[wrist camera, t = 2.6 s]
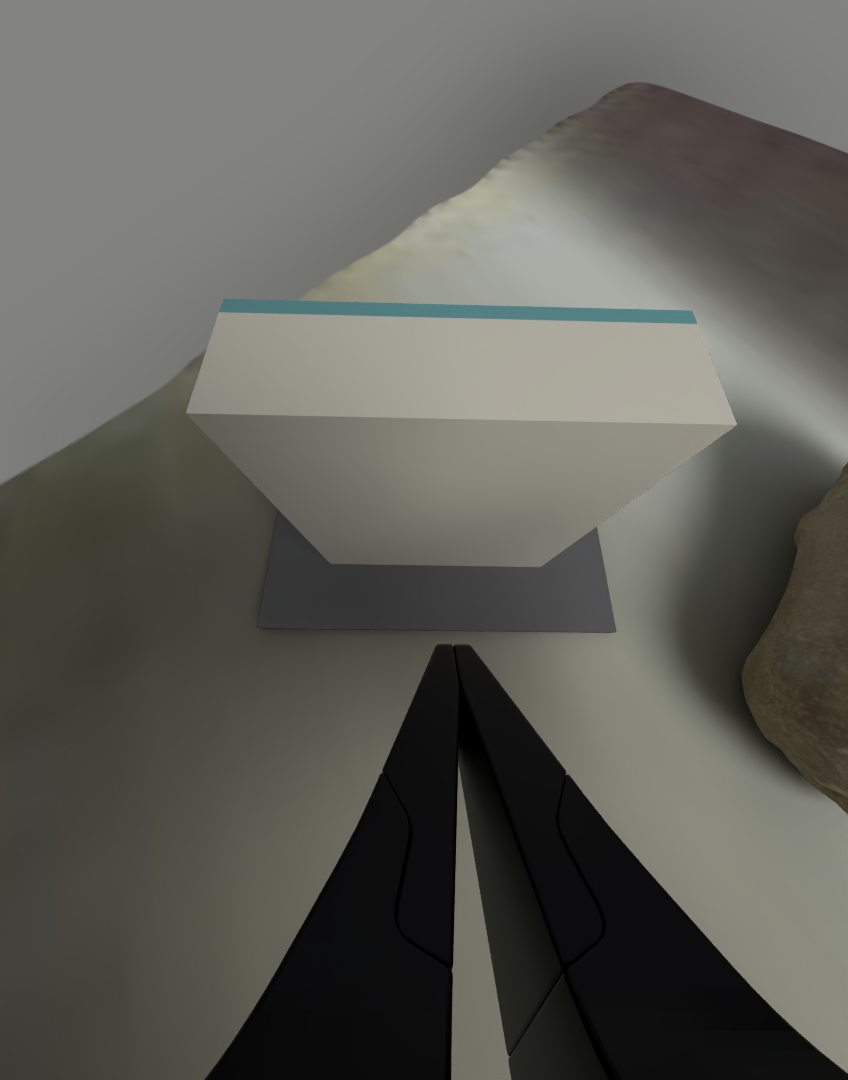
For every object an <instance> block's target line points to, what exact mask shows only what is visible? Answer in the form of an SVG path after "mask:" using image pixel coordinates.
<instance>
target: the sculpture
mask: <svg viewBox="0 0 848 1080" xmlns="http://www.w3.org/2000/svg"><path fill="white" fill-rule="evenodd" d="M794 542H795V545H796V548H797V554H796V558H795V562H794V566H793V570H792V573H791V577H790V579H789V582H788V585H787V588H786V590H785V593H784V595H783V597H782V600H781V602H780V604H779V606H778V608H777V610H776V612H775V614H774V616H773V618H772V620H771V622H770V624H769V625H768V627H767V629H766V630H765V632H764V633H763V635H762V637H761V638H760V640H759V641H758V643H757V644H756V645H755V647H754V648H753V650H752V651H751V653H750V654H749V656H748V657H747V659H746V661H745V664H744V667H743V671H742V683H743V690H744V695H745V700H746V703H747V705H748V707H749V709H750V711H751V713H752V715H753V717H754V719H755V721H756V723H757V725H758V727H759V729H760V730H761V732H762V733H763V735H764V737H765V738H766V739H767V740H769V741H770V742H771V743H773V744H774V745H776V746H777V747H778V748H780V749H781V750H782V751H783V753H784V754H785V756H786V757H787V758H788V760H789V761H790V763H792V764H793V765H795V766H796V767H797V768H798V770H799V771H800V772H801V774H802V775H803V776H804V777H805V779H807V780H808V781H809V782H810V783H811V784H812V785H813V786H814V787H815V788H816V789H818V790H819V791H821V792H822V793H824V794H825V795H827V796H828V797H829V798H830V799H831V800H833V801H834V802H836V803H837V804H838V805H839V806H840V807H841V808H842V809H843V810H844V811H845V812H846V813H847V814H848V462H847V464H846V465H845V467H844V468H843V471H842V474H841V476H840V478H838V480H837V482H836V484H835V485H834V486H833V487H832V488H831V489H829V490H828V491H827V493H826V495H825V497H824V498H823V500H822V501H821V503H820V504H819V505H818V506H817V507H816V508H815V509H813V510H811V511H809V512H807V513H805V514H804V515H803V516H802V517H801V519H800V521H799V524H798V526H797V529H796V531H795V534H794Z"/></svg>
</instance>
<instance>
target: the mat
mask: <svg viewBox="0 0 848 1080" xmlns="http://www.w3.org/2000/svg"><path fill="white" fill-rule="evenodd" d="M257 628H272V629H350V630H427V631H505V632H582V633H613V632H616V627H615V622H614V617H613V611H612V606H611V601H610V595H609V590H608V585H607V579H606V574H605V569H604V563H603V558H602V553H601V547H600V542H599V536H598V531H597V527H595V528H594V529H592V530H591V531H590V532H588V533H587V534H586V535H584V536H583V537H581V538H580V539H579V540H577V541H576V542H574V543H573V544H572V545H570V546H569V547H568V548H566V549H565V550H563V551H562V552H561V553H559V554H558V555H556V556H555V557H554V558H552V559H551V560H550V561H548V562H547V563H545V564H544V565H543V566H541V567H500V566H435V565H370V564H330V563H329V562H328V561H327V560H326V559H325V558H324V557H323V556H322V555H321V554H320V552H319V551H318V550H317V549H316V548H315V547H314V546H313V545H312V544H311V543H310V542H309V541H308V540H307V539H306V538H305V537H304V536H303V535H302V534H301V533H300V532H299V531H298V530H297V529H296V528H295V526H294V525H293V524H292V523H291V522H290V521H289V520H288V519H287V518H286V517H285V516H284V515H283V514H282V513H281V512H280V511H279V510H278V514H277V520H276V525H275V531H274V536H273V541H272V547H271V552H270V558H269V563H268V569H267V574H266V580H265V585H264V590H263V596H262V601H261V607H260V612H259V618H258V623H257Z"/></svg>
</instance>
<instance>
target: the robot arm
mask: <svg viewBox="0 0 848 1080" xmlns="http://www.w3.org/2000/svg"><path fill="white" fill-rule="evenodd" d="M458 762H459V768H460V774H461V780H462V786H463V792H464V798H465V804H466V810H467V816H468V822H469V828H470V834H471V840H472V846H473V852H474V858H475V864H476V870H477V876H478V882H479V888H480V894H481V900H482V906H483V912H484V918H485V924H486V930H487V936H488V942H489V947H490V953H491V959H492V965H493V971H494V977H495V983H496V989H497V995H498V1001H499V1007H500V1013H501V1019H502V1025H503V1031H504V1037H505V1043H506V1049H507V1054H508V1055H509V1056H510V1057H509V1060H508V1061H509V1068H510V1074H511V1079H512V1080H848V1073H846V1072H845V1071H844V1070H843V1069H841V1068H840V1067H839V1066H838V1065H836V1064H835V1063H834V1062H833V1061H831V1060H830V1059H829V1058H828V1057H826V1056H825V1055H824V1054H823V1053H822V1052H820V1051H819V1050H818V1049H817V1048H816V1047H815V1046H813V1045H812V1044H811V1043H810V1042H809V1041H808V1040H807V1039H805V1038H804V1037H803V1036H802V1035H801V1034H800V1033H798V1032H797V1031H796V1030H795V1029H794V1028H793V1027H792V1026H791V1025H790V1024H789V1023H788V1022H787V1021H786V1020H785V1019H783V1018H782V1017H781V1016H780V1015H779V1014H778V1013H777V1012H776V1011H775V1010H774V1009H773V1008H772V1007H771V1006H770V1005H769V1004H768V1003H767V1002H766V1001H765V1000H764V999H763V998H762V997H761V996H760V995H759V994H758V993H757V992H756V991H755V990H754V989H753V988H752V987H751V986H750V985H749V984H748V982H747V981H746V980H745V979H744V978H743V977H742V976H741V975H740V974H739V973H738V972H737V970H736V969H735V968H734V967H733V966H732V965H731V964H730V963H729V962H728V960H727V959H726V958H725V957H724V956H723V955H722V954H721V953H720V951H719V950H718V949H717V948H716V947H715V946H714V945H713V944H712V942H711V941H710V940H709V939H708V938H707V937H706V936H705V935H704V933H703V932H702V931H701V930H700V929H699V928H698V927H697V926H696V924H695V923H694V922H693V921H692V920H691V919H690V918H689V917H688V915H687V914H686V913H685V912H684V911H683V910H682V909H681V908H680V906H679V905H678V904H677V903H676V902H675V901H674V900H673V899H672V897H671V896H670V895H669V894H668V893H667V892H666V891H665V890H664V888H663V887H662V886H661V885H660V884H659V883H658V882H657V881H656V879H655V878H654V877H653V876H652V875H651V874H650V873H649V872H648V870H647V869H646V868H645V867H644V866H643V865H642V864H641V863H640V861H639V860H638V859H637V858H636V857H635V856H634V854H633V853H632V852H631V851H630V850H629V849H628V848H627V846H626V845H625V844H624V843H623V842H622V841H621V839H620V838H619V837H618V836H617V835H616V834H615V832H614V831H613V830H612V829H611V828H610V827H609V825H608V824H607V823H606V822H605V820H604V819H603V818H602V817H601V815H600V814H599V813H598V811H597V810H596V809H595V808H594V806H593V805H592V804H591V803H590V801H589V800H588V799H587V798H586V796H585V795H584V794H583V793H582V791H581V790H580V789H579V787H578V786H577V785H576V783H575V782H574V781H573V779H572V778H571V777H570V775H566V770H565V769H564V768H563V766H562V765H561V764H560V762H559V761H558V760H557V758H556V757H555V756H554V754H553V753H552V752H551V751H550V749H549V748H548V747H547V745H546V744H545V743H544V741H543V740H542V739H541V737H540V736H539V735H538V733H537V732H536V731H535V730H534V728H533V727H532V726H531V724H530V723H529V722H528V720H527V719H526V718H525V716H524V715H523V714H522V712H521V711H520V710H519V708H518V707H517V706H516V705H515V703H514V702H513V701H512V699H511V698H510V697H509V695H508V694H507V693H506V691H505V690H504V689H503V687H502V686H501V685H500V683H499V682H498V681H497V680H496V678H495V677H494V676H493V674H492V673H491V672H490V670H489V669H488V668H487V666H486V665H485V664H484V662H483V661H482V660H481V659H480V657H479V656H478V655H477V653H476V652H475V651H474V649H473V648H472V647H471V646H470V645H454V647H453V646H452V645H451V644H438V645H437V646H436V647H435V649H434V652H433V654H432V656H431V659H430V661H429V663H428V665H427V668H426V670H425V672H424V675H423V677H422V679H421V682H420V684H419V686H418V689H417V691H416V693H415V696H414V698H413V700H412V703H411V705H410V707H409V710H408V712H407V714H406V716H405V719H404V721H403V723H402V726H401V728H400V730H399V733H398V735H397V737H396V740H395V742H394V744H393V747H392V749H391V751H390V754H389V756H388V758H387V760H386V763H385V765H384V767H383V770H382V772H383V773H381V774H380V776H379V778H378V781H377V783H376V785H375V788H374V790H373V792H372V795H371V797H370V799H369V801H368V803H367V805H366V807H365V810H364V812H363V814H362V816H361V818H360V820H359V822H358V825H357V827H356V828H355V830H354V832H353V834H352V836H351V838H350V840H349V842H348V844H347V846H346V847H345V849H344V851H343V853H342V855H341V857H340V859H339V861H338V863H337V864H336V866H335V868H334V870H333V871H332V873H331V875H330V877H329V879H328V880H327V882H326V884H325V886H324V887H323V889H322V891H321V893H320V894H319V896H318V898H317V900H316V902H315V903H314V905H313V907H312V909H311V910H310V912H309V914H308V916H307V918H306V919H305V921H304V923H303V925H302V926H301V928H300V930H299V932H298V934H297V935H296V937H295V939H294V941H293V942H292V944H291V946H290V948H289V949H288V951H287V953H286V955H285V957H284V958H283V960H282V962H281V964H280V965H279V967H278V969H277V971H276V972H275V974H274V976H273V977H272V979H271V981H270V983H269V984H268V986H267V988H266V989H265V991H264V993H263V994H262V996H261V997H260V999H259V1001H258V1002H257V1004H256V1006H255V1007H254V1009H253V1011H252V1012H251V1014H250V1015H249V1017H248V1018H247V1020H246V1021H245V1023H244V1024H243V1026H242V1028H241V1029H240V1031H239V1032H238V1034H237V1035H236V1037H235V1038H234V1040H233V1041H232V1043H231V1044H230V1045H229V1047H228V1048H227V1050H226V1051H225V1053H224V1054H223V1056H222V1057H221V1058H220V1060H219V1061H218V1062H217V1064H216V1065H215V1066H214V1068H213V1069H212V1070H211V1072H210V1073H209V1074H208V1076H207V1077H206V1078H205V1080H451V1044H452V985H453V974H452V967H453V945H454V906H455V866H456V827H457V787H458Z"/></svg>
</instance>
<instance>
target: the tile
mask: <svg viewBox="0 0 848 1080" xmlns="http://www.w3.org/2000/svg"><path fill="white" fill-rule="evenodd" d="M186 414H187V415H188V416H189V417H190V418H191V419H192V420H193V421H194V423H195V424H196V425H197V426H198V427H199V428H200V429H201V430H202V431H203V432H204V433H205V434H206V435H207V436H208V437H209V438H210V439H211V440H212V441H213V442H214V443H215V444H216V445H217V446H218V447H219V449H220V450H221V451H222V452H223V453H224V454H225V455H226V456H227V457H228V458H229V459H230V460H231V461H232V462H233V463H234V464H235V465H236V466H237V467H238V468H239V469H240V470H241V471H242V472H243V473H244V474H245V476H246V477H247V478H248V479H249V480H250V481H251V482H252V483H253V484H254V485H255V486H256V487H257V488H258V489H259V490H260V491H261V492H262V493H263V494H264V495H265V496H266V497H267V498H268V499H269V500H270V502H271V503H272V504H273V505H274V506H275V507H276V508H277V509H278V510H279V511H280V512H281V513H282V514H283V515H284V516H285V517H286V518H287V519H288V520H289V521H290V522H291V523H292V524H293V525H294V526H295V528H296V529H297V530H298V531H299V532H300V533H301V534H302V535H303V536H304V537H305V538H306V539H307V540H308V541H309V542H310V543H311V544H312V545H313V546H314V547H315V548H316V549H317V550H318V551H319V552H320V554H321V555H322V556H323V557H324V558H325V559H326V560H327V561H328V562H329V563H330V564H370V565H435V566H500V567H541V566H543V565H544V564H545V563H547V562H548V561H550V560H551V559H552V558H554V557H555V556H556V555H558V554H559V553H561V552H562V551H563V550H565V549H566V548H568V547H569V546H570V545H572V544H573V543H574V542H576V541H577V540H579V539H580V538H581V537H583V536H584V535H586V534H587V533H588V532H590V531H591V530H592V529H594V528H595V527H597V526H598V525H599V524H601V523H602V522H604V521H605V520H606V519H608V518H609V517H610V516H612V515H613V514H615V513H616V512H617V511H619V510H620V509H622V508H623V507H624V506H626V505H627V504H628V503H630V502H631V501H633V500H634V499H635V498H637V497H638V496H640V495H641V494H642V493H644V492H645V491H646V490H648V489H649V488H651V487H652V486H653V485H655V484H656V483H658V482H659V481H660V480H662V479H663V478H664V477H666V476H667V475H669V474H670V473H671V472H673V471H674V470H676V469H677V468H678V467H680V466H681V465H682V464H684V463H685V462H687V461H688V460H689V459H691V458H692V457H694V456H695V455H696V454H698V453H699V452H700V451H702V450H703V449H705V448H706V447H707V446H709V445H710V444H712V443H713V442H714V441H716V440H717V439H718V438H720V437H721V436H723V435H724V434H725V433H727V432H728V431H730V430H731V429H732V428H734V427H735V426H736V425H737V423H736V420H735V418H734V415H733V413H732V410H731V408H730V405H729V403H728V400H727V398H726V395H725V392H724V390H723V387H722V385H721V382H720V380H719V377H718V375H717V372H716V370H715V367H714V365H713V362H712V360H711V357H710V355H709V352H708V350H707V347H706V344H705V342H704V339H703V337H702V334H701V332H700V329H699V327H698V324H697V322H696V319H695V317H694V314H693V312H692V311H681V310H641V309H601V308H561V307H521V306H482V305H442V304H402V303H362V302H322V301H282V300H278V301H277V300H242V299H223V302H222V305H221V308H220V311H219V314H218V317H217V320H216V323H215V326H214V330H213V332H212V336H211V338H210V342H209V345H208V347H207V351H206V354H205V357H204V360H203V363H202V366H201V369H200V372H199V375H198V378H197V381H196V384H195V387H194V390H193V393H192V396H191V399H190V402H189V405H188V408H187V411H186Z"/></svg>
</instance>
